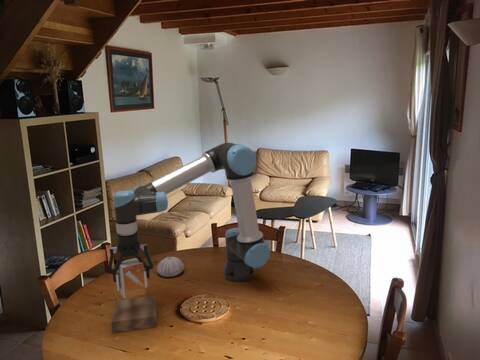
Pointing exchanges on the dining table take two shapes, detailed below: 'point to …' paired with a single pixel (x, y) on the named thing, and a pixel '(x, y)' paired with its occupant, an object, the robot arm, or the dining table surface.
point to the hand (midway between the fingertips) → (132, 287)
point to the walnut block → (134, 314)
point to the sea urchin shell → (170, 267)
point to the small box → (131, 278)
